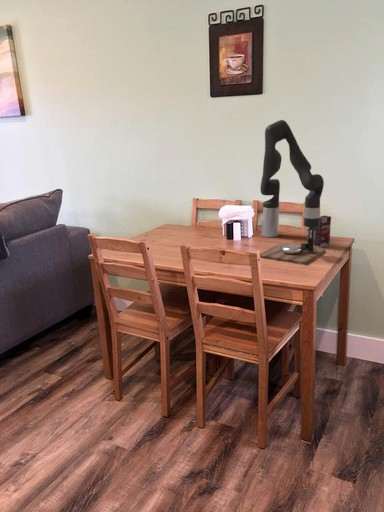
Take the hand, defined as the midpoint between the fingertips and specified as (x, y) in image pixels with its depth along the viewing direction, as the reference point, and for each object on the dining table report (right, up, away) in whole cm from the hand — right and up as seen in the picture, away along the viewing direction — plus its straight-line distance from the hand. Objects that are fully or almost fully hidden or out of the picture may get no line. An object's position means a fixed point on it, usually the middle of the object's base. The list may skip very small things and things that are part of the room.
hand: (310, 250), depth 211 cm
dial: (-6, 0, +4) cm, 7 cm away
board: (-8, -2, +4) cm, 9 cm away
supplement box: (+10, +3, +17) cm, 20 cm away
